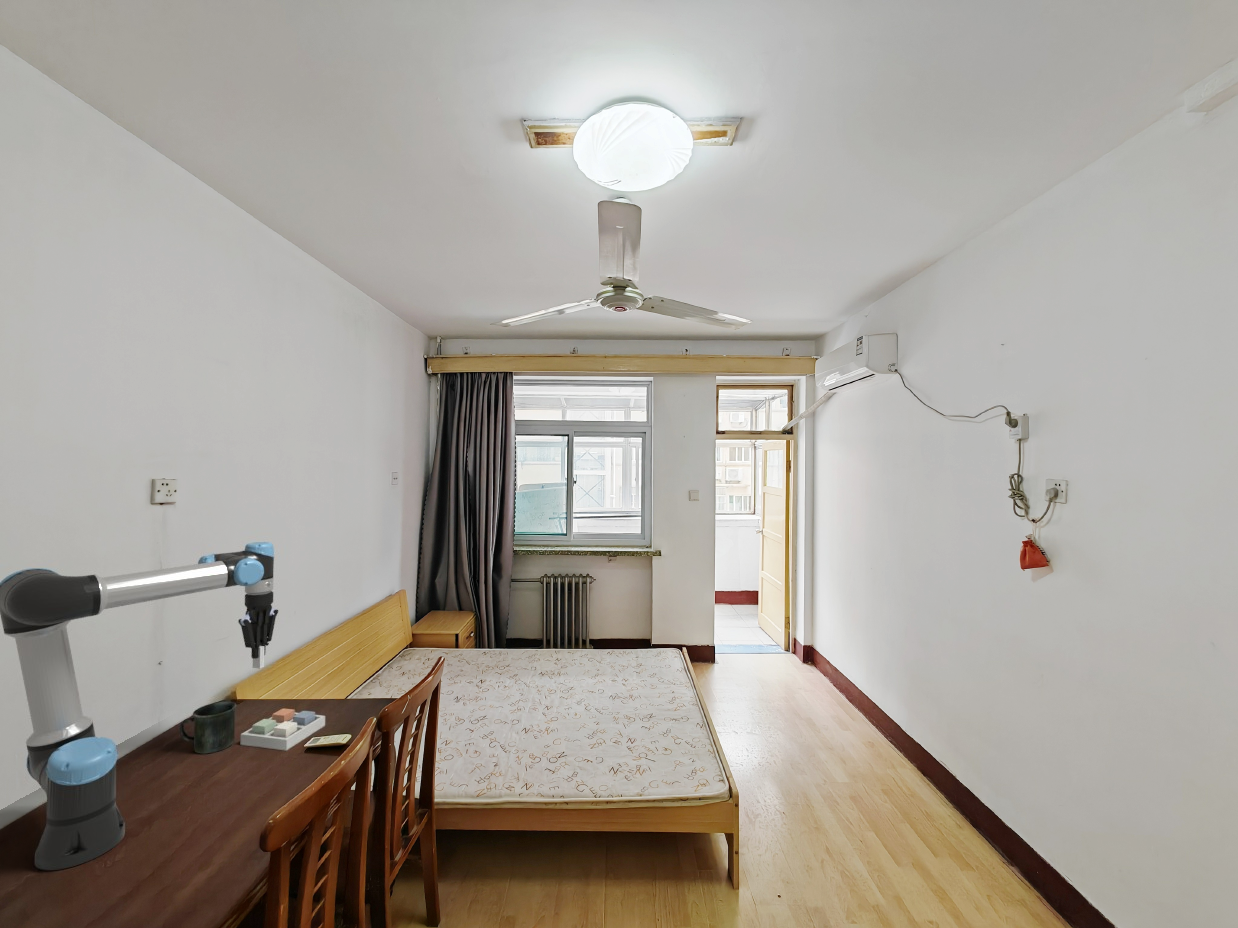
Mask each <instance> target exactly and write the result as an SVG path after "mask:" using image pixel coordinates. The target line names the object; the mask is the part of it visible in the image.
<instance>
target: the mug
mask: <svg viewBox="0 0 1238 928" xmlns="http://www.w3.org/2000/svg"><path fill="white" fill-rule="evenodd" d="M236 708H237V703H236V702H233V701H219V702H213V703H209V704H205V705H203V706H200V707H198V708H196V709H195V710H194V711H193V712H192V716H193V717H190V718H186V719H184V720H183V722H181V723H180V726H179V734H180V735H181V738H182V739H183V740H184V741H187V742H193V750H194V752H196V753H197V754H200V755H201V754H202V755H203V754H206V755H207V754H213V753H216V752H217V753H218V752H220V751H223V750H226V749H227V748H228V747H230V746H232V745H233V743H234V742H235V732H236V731H235V719H236V716H235V715H236V713H235V712H236ZM192 722H194V725H193V726H194V729H193V732H194V733H193V735H194V736H189V735H188V734H187V733H186V731H185V727H184V726H185V725H186V724H188V723H192Z"/></svg>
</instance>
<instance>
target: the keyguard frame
mask: <svg viewBox="0 0 1238 928" xmlns="http://www.w3.org/2000/svg"><path fill="white" fill-rule="evenodd" d="M298 713H299V712H295V715H297V714H298ZM268 719H270V720H272V716H271V717H269V718H268ZM287 722H293V718H292V719H290V720H288V721H287ZM279 724H281V723H279V722H276V726H278V725H279ZM325 726H326V715H320V714H315V720H313V721H311V722H310V723H308V724H306V725H297V731H295V732H293V733H292V734H290V735H289V736H287V737H281V736H274V729H273V730H271V731H270V732H268V733H266V734H257V733H252V727H251V728H249V729H248V730H246V731H244V732H242V733H240V746H247V747H253V748H255V747H256V748H263V749H268V750H269V749H270V750H279V751H284V752H285V751H289V750H290V749H291V748H293V747H295V746H296V745H298V744H300V743H301V742H302V741H304V740H305V739H307V738H309V737H310V736H312V735H313V734H314V733H316V732H317V731H320V729H323V728H325Z"/></svg>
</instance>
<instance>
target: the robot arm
mask: <svg viewBox="0 0 1238 928" xmlns="http://www.w3.org/2000/svg"><path fill="white" fill-rule="evenodd" d="M274 549H275V548H274V545H273V543H272V542H266V541H260V542H259V541H258V542H250V543H247V544H245V547H244V550H241V551H234V552H232V551H231V552H224V553H212V554H207V555H203V556H201V557H200V558H199V560H198V562H197V564H196V563H195V564H189V565H182V566H174V567H169V568H161V569H153V570H148V571H140V572H133V573H127V574H119V575H112V576H105V577H101V576H99V575H97V574H89V575H79V576H78V575H77V576H73V575H72V576H71V575H70V576H69V575H61V574H59V573H58V572H56V571H54V570H52V569H47V568H42V567H39V568H38V567H35V568H26V569H22V570H18V571H15V572H13V573H11V574H9V575H8V576H6V577H5V578H3V579H2V580H1V581H0V620H1V625H2V628H3V634H4V635H6V636H8V637H11V638H13V639H15V644H16V648H17V655H18V660H19V664H20V669H21V674H22V679H23V684H24V690H25V694H26V695H25V696H26V701H27V704H28V705H27V706H28V710H29V714H30V720H31V726H32V730H33V732H32V733H31V734H30V736H29V737H28V738H27V739H26V742H25V744H26V748H27V757H26V769H27V772H28V774H29V776H30V777H31V778H32V779H33V780H35V781H36V782H37V783H38V785H39V786H40V787H41V788H42V791H44V792H45V795H46V825H45V828H44V830H43V833H42V835H41V838H40V840H39V843H38V846H37V848H36V850H35V852H34V865H35V867H36V868H37V869H38V870H42V871H57V870H64V869H69V868H72V867H76V866H78V865H81V864H84V863H87V862H90V861H92V860H94V859H96V858H99V857H100V856H103V854H105V853H107V852H109V851H110V850H112V849H113V848H115V847H116V846H118V844H119V843H120V842H122V840H123V838H124V837H125V832H126V824H125V820H124V818H123V817H122V814H121V812H120V810H119V808H118V806H117V803H116V802H117V801H116V800H117V799H116V797H117V796H116V795H117V760H118V751H117V746H116V743H115V742H114V741H113V740H112V739H110V738H108V737H103V736H101V737H98V736H96V733H95V727H94V722H93V719H92V717H88V716H85V715H84V714H83V710H82V703H81V699H80V698H81V697H80V694H79V689H78V688H79V687H78V682H77V678H76V677H77V676H76V672H75V666H74V660H73V656H72V655H73V654H72V650H71V645H70V639H69V634H68V628H67V625H68V624H69V623H70V622H71V621H74V620H78V619H84V618H88V617H93V616H98V615H100V614H101V613H102V612H103V611H105V610H107V609H108V610H109V609H113V608H119V607H124V606H129V605H130V606H131V605H135V604H141V603H145V602H152V601H158V600H162V599H169V598H174V597H178V596H179V597H180V596H184V595H189V594H196V593H200V592H201V593H202V592H207V591H212V590H218V589H222V588H223V589H224V588H230V587H236V586H239V587H244V593H245V594H244V606H245V608H246V610H245V616H243V618H240V619H238V622H237V623H238V624H239V625H240V628H241V633H242V636H243V637H242V638H243V642H244V646H245V648H246V649H247V648H249V649H251V659H252V668H253V669H259V670H260V669H262V668H265V655H266V647H267V646H269V644H270V643H269V642H271V641H272V639H273V634H274V627H275V624H276V618H277V616H278V614H279V609H274V608H273V606H272V604H273V603H274V592H273V590H274V562H275V561H274V560H275V550H274Z"/></svg>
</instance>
